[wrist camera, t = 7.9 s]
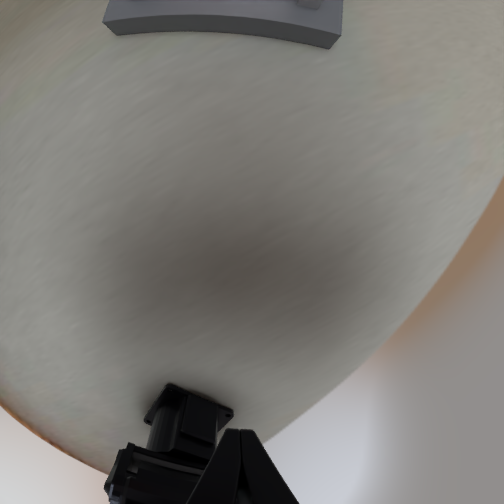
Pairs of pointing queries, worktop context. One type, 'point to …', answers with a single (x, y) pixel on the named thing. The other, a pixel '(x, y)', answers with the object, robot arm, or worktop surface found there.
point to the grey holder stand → (231, 18)
